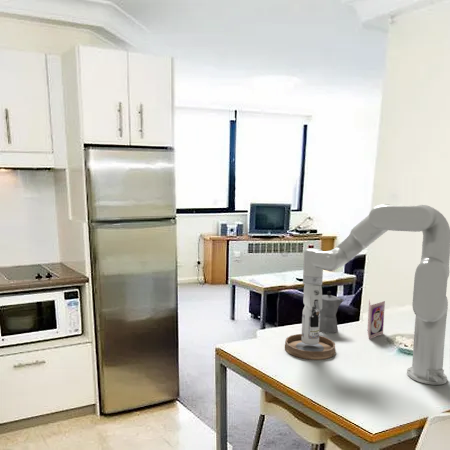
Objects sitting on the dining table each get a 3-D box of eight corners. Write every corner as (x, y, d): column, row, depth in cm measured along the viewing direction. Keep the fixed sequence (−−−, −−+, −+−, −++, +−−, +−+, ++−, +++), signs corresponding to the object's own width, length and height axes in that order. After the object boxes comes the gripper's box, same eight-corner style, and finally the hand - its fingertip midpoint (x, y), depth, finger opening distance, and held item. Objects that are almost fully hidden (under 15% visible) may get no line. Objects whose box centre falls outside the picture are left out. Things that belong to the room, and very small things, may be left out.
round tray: (343, 359, 160) (344, 351, 160) (292, 360, 158) (292, 353, 157) (324, 339, 180) (325, 333, 180) (279, 341, 177) (279, 334, 177)
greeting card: (370, 339, 181) (372, 305, 180) (355, 334, 187) (357, 301, 185) (384, 334, 188) (386, 301, 187) (369, 329, 194) (371, 297, 193)
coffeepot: (343, 328, 195) (345, 290, 193) (340, 335, 186) (342, 295, 184) (310, 323, 201) (311, 286, 199) (306, 329, 192) (307, 291, 190)
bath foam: (322, 342, 169) (324, 293, 167) (313, 346, 163) (315, 296, 162) (307, 337, 173) (309, 290, 171) (298, 341, 168) (299, 293, 166)
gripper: (329, 284, 158) (327, 330, 160) (314, 275, 175) (312, 316, 177) (310, 285, 157) (308, 331, 159) (297, 275, 174) (295, 317, 176)
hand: (310, 323), depth 168 cm, fingers closed on bath foam, 7 cm apart
